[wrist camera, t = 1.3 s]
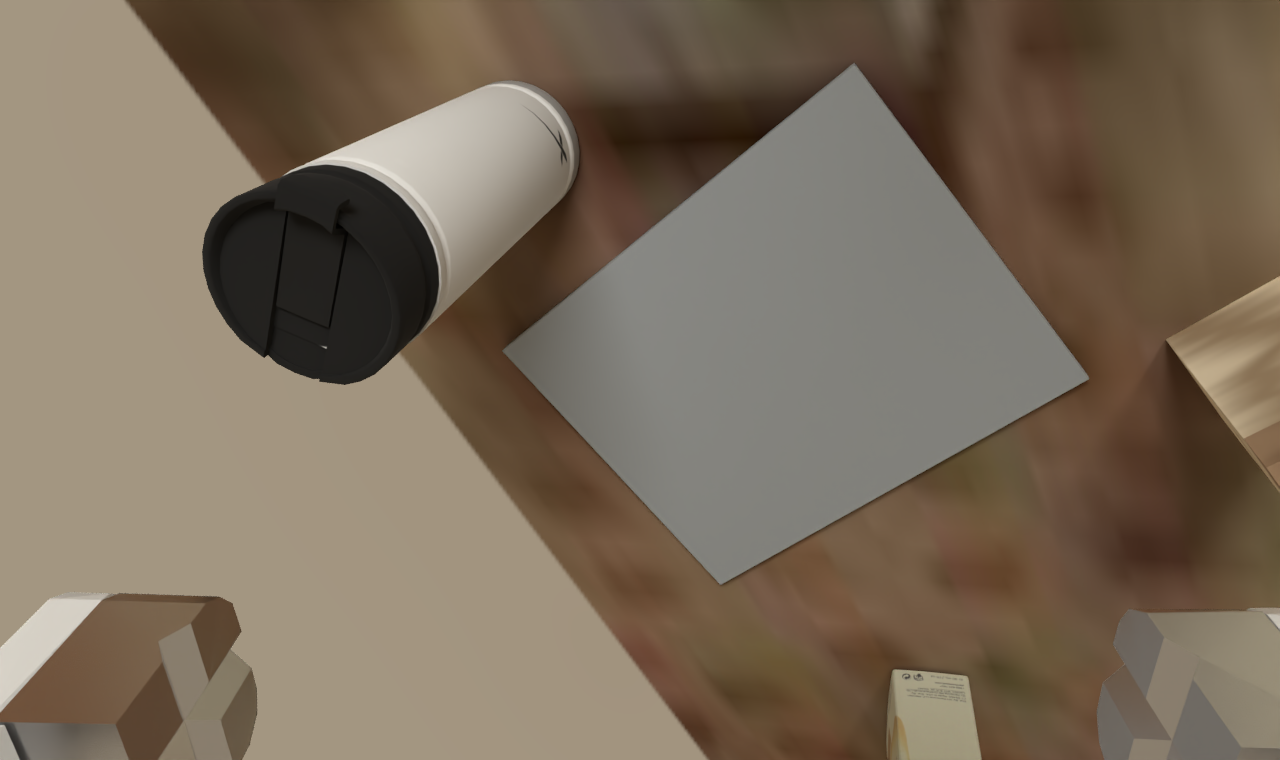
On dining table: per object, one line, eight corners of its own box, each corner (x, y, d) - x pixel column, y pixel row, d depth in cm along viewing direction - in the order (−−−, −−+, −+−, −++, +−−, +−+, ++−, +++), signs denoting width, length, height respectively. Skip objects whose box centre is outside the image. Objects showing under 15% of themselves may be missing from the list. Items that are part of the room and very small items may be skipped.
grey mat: (854, 62, 38) (854, 64, 37) (1086, 373, 42) (1089, 378, 41) (506, 346, 47) (502, 351, 47) (722, 578, 51) (720, 584, 51)
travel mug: (601, 104, 41) (418, 235, 23) (558, 232, 44) (369, 433, 26) (474, 50, 41) (198, 141, 23) (440, 183, 44) (175, 350, 27)
